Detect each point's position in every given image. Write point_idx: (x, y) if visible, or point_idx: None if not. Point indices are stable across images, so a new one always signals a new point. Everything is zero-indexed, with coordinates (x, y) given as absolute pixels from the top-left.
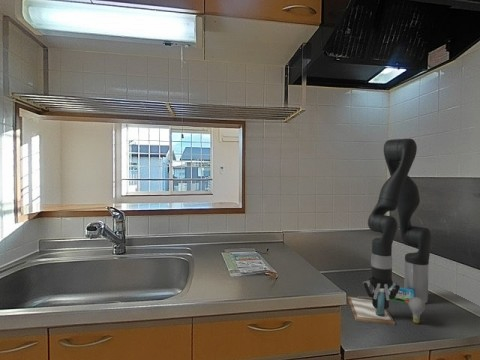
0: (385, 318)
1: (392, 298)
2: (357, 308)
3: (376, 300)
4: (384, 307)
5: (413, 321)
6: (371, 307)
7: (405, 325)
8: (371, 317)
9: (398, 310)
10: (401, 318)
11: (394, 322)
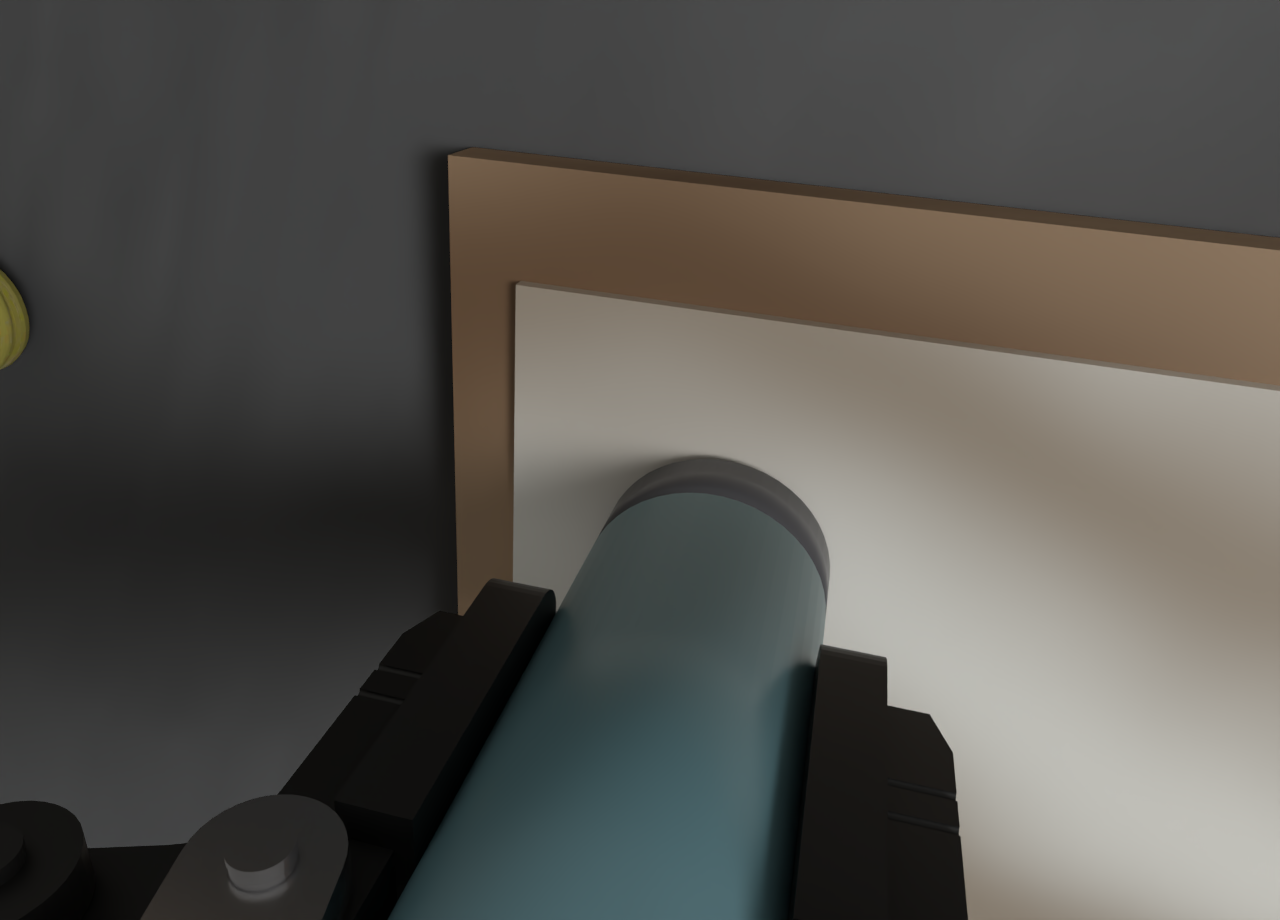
0: (642, 366)
1: (20, 838)
2: (1230, 861)
3: (824, 887)
4: (552, 630)
5: (24, 313)
6: None
7: (230, 164)
8: (1062, 399)
9: (252, 768)
10: (256, 483)
11: (459, 177)
